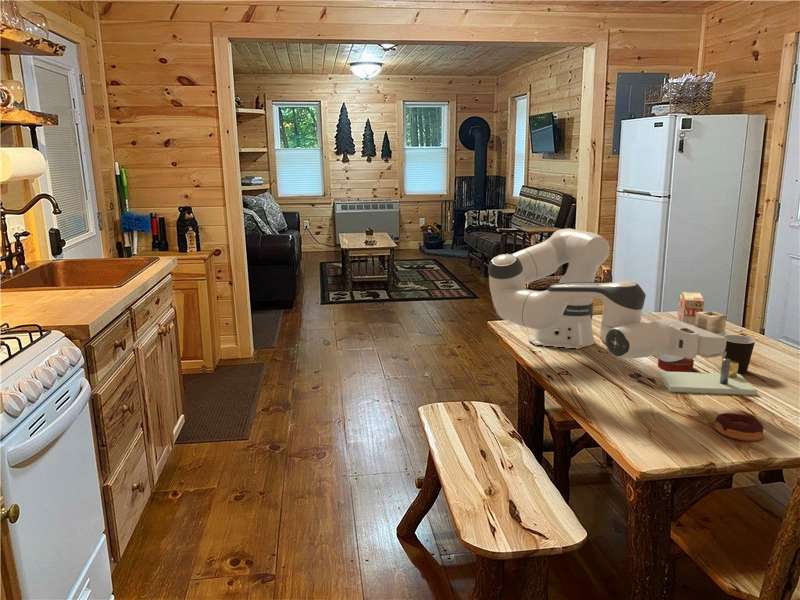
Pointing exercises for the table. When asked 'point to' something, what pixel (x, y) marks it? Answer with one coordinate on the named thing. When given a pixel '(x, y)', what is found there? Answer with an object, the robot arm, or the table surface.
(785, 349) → the table surface
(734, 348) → the coffee mug
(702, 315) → the sleeve
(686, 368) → the canned food
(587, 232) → the robot arm
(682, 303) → the stack of blocks
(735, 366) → the brass peg
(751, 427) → the donut
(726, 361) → the steel peg
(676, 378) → the peg board
